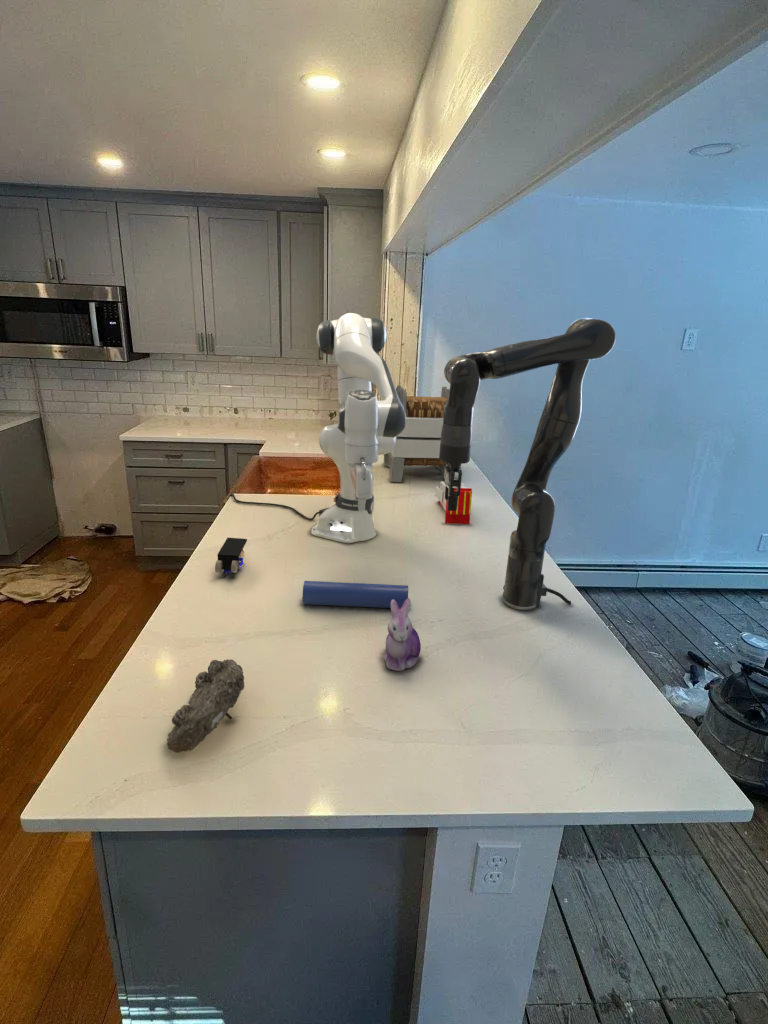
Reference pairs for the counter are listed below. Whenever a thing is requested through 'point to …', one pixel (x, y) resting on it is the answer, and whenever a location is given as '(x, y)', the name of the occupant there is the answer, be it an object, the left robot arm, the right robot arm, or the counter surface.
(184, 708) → the fossil
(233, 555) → the figurine character
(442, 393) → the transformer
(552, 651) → the counter surface
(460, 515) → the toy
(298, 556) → the counter surface
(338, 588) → the rod
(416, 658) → the figurine
